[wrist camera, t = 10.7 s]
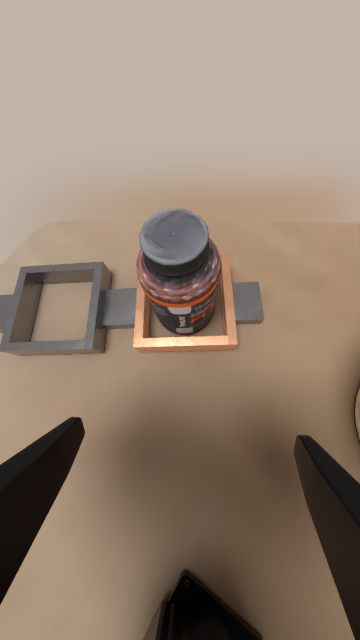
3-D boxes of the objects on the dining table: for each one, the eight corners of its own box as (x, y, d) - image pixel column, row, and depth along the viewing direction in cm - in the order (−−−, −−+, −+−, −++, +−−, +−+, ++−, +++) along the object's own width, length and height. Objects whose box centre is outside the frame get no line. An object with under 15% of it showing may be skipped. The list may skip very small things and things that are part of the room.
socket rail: (252, 265, 24) (258, 251, 21) (263, 348, 21) (272, 343, 18) (14, 279, 26) (-4, 268, 24) (-6, 356, 23) (-29, 352, 21)
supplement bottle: (200, 345, 21) (200, 298, 11) (147, 323, 23) (100, 261, 12) (222, 294, 23) (241, 209, 12) (172, 276, 24) (149, 184, 13)
